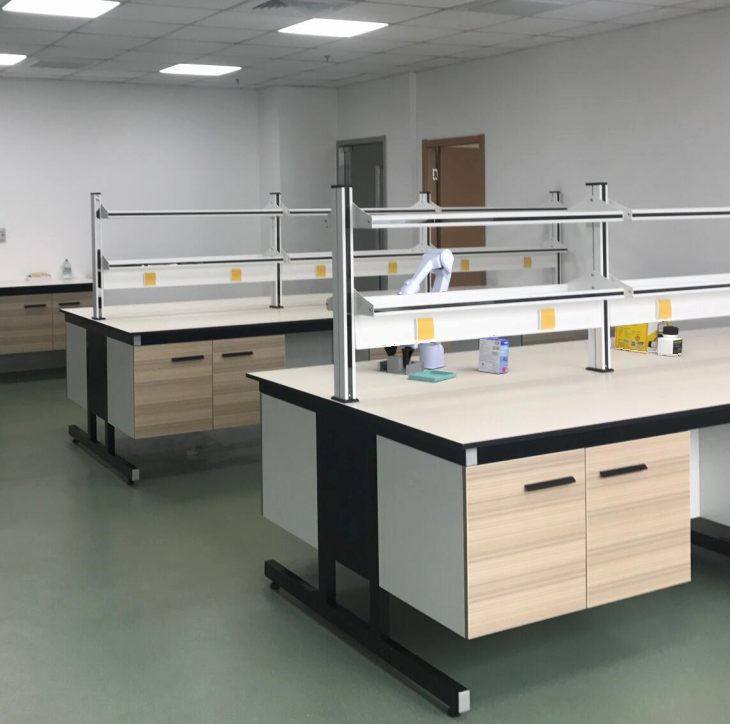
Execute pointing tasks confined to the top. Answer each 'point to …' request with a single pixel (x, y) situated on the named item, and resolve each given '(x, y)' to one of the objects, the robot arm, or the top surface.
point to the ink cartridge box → (493, 355)
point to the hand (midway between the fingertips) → (399, 366)
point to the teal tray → (432, 376)
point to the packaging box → (640, 336)
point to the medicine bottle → (670, 341)
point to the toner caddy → (396, 364)
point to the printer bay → (410, 369)
